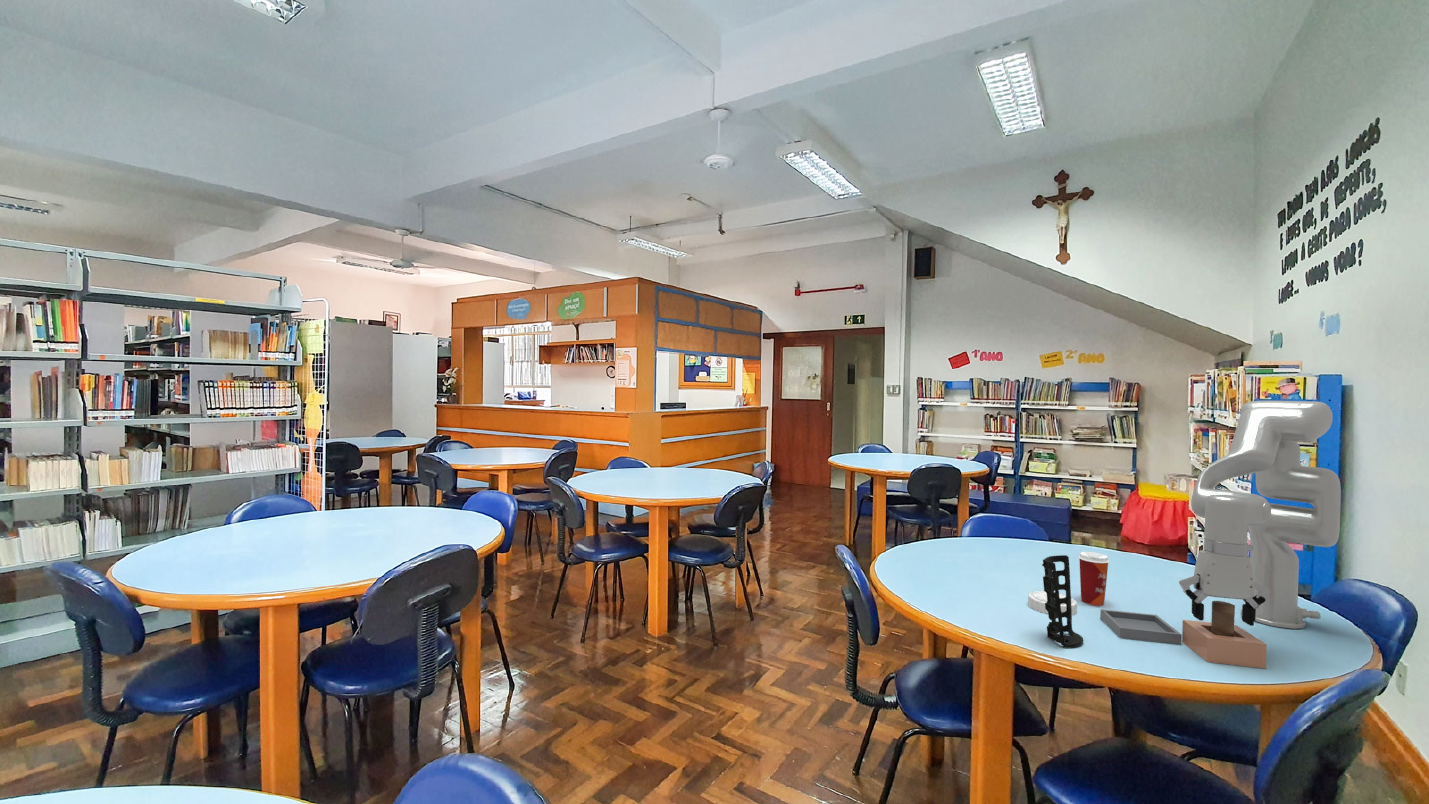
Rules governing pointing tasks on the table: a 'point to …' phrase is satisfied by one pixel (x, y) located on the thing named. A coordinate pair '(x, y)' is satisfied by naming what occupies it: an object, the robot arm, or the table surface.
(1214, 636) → the well block
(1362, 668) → the table surface
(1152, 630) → the tray
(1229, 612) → the dowel pin
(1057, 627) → the holder
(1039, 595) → the mooncake
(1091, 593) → the paper cup
